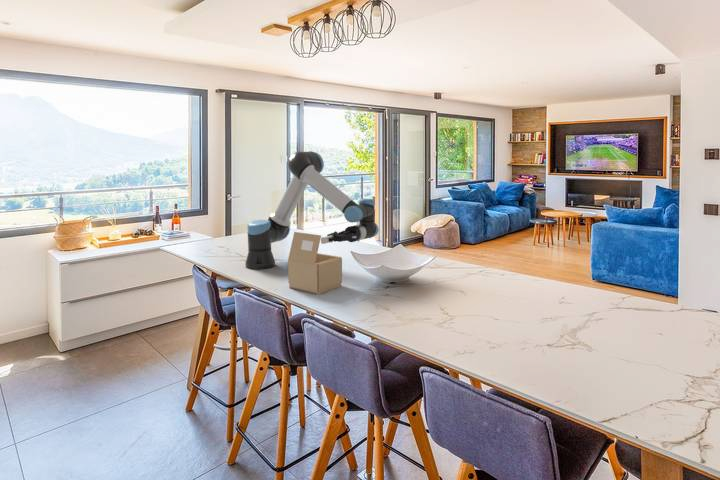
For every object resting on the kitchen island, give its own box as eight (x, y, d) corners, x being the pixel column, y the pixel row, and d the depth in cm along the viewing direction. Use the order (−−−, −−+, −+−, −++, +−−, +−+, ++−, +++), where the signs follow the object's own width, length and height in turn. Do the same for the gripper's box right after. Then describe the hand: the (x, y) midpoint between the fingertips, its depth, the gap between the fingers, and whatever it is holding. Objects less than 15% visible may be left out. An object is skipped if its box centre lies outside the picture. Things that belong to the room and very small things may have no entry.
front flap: (288, 259, 202) (294, 231, 203) (289, 259, 202) (295, 232, 203) (314, 263, 193) (320, 235, 194) (314, 264, 193) (321, 235, 195)
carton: (287, 287, 206) (287, 258, 203) (314, 279, 219) (313, 252, 217) (318, 295, 195) (318, 264, 193) (344, 285, 208) (344, 257, 206)
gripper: (366, 242, 222) (333, 250, 203) (344, 239, 230) (311, 247, 211) (366, 226, 221) (333, 233, 202) (344, 224, 228) (311, 230, 210)
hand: (322, 240), depth 207 cm, fingers closed
